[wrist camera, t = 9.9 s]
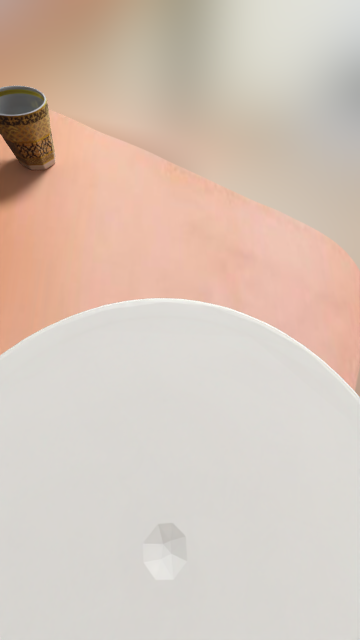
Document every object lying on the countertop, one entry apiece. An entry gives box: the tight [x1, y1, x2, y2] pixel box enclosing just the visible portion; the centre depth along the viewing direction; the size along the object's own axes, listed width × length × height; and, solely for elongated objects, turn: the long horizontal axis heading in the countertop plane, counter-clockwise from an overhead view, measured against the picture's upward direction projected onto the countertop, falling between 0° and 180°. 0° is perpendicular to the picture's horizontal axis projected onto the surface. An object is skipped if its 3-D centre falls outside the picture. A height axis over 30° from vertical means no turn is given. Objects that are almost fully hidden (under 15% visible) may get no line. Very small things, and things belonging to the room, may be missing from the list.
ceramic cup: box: [0, 86, 55, 170], centre depth 48 cm, size 13×10×10 cm
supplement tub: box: [0, 298, 360, 640], centre depth 10 cm, size 10×10×15 cm
